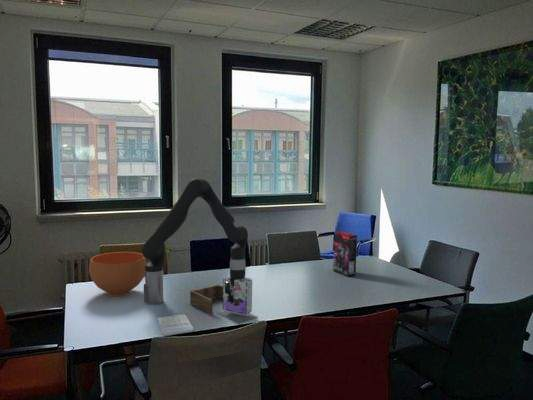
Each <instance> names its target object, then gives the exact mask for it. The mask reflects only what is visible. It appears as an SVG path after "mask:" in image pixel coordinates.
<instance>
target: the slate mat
mask: <svg viewBox="0 0 533 400" xmlns="http://www.w3.org/2000/svg"><path fill="white" fill-rule="evenodd" d="M217 314H218V315H220V316H222V317H224V318H227V319H228V320H230V321H233V322H234V323H236V324H241V323H244V322H249V321H251V320H254V319H258V315H257V316H256V315H254V314H252V313H251V312H250V313H248V314H242V313H237V312H232V311H228V310H222V311H219V312H217Z"/></svg>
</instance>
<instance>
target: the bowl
mask: <svg viewBox="0 0 533 400" xmlns="http://www.w3.org/2000/svg"><path fill="white" fill-rule="evenodd" d="M88 264H89V266H88V271H89V273H88V274H89V276H90V278H91V281H92V282H93V283H94V284H95V286H96V287H97V288H98V289H100V290H102V291H103V292H105V293H107V294H108V296H109V297H115V298H116V297H117V298H118V297H123V296H127V295H129V294H130V292H131V291H132V290H133V289H135V288H136V287H138V286H139V285H140V284H141V282H142V281H143V279H145V265H146V264H147V258H145V257H144V256H143V254H142V253H140V252H139V253H138V252H135V251H115V252H107V253H102V254H97V255H95V256H92V257H91V258H90V259H89V263H88Z"/></svg>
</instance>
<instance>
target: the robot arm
mask: <svg viewBox="0 0 533 400" xmlns="http://www.w3.org/2000/svg"><path fill="white" fill-rule="evenodd" d="M198 198H201V199H203V200H204V202H206V204H207V205H208V206H209V208H210V210H211V213H212V215H213V217H214V218H215V220H216V221H217V222H218V223H219V225H220V226H221V227H222V229H223V231H224V233H225V235H226V237H227V239H228V240H229V241H231V242H232V243H234V245H233V246H231V247H230V261H229V275H230V278H231V279H230V281H229V282H225V293H226V294H228V295H229V302H231V303H232V302H233V293H234V291H235V286H234V280H235V279H241V278H249V279H251V278H250V277H247V276H246V248H247V243H248V238H249V232H248V230H247V228H246V227H245V226H243V225H239V226H236V225H235V218H234V216H233V215H232V214H231V212H229V211H228V209H227V208H226V206H224V205H223V203H222V202H221V200H220V198H219V197H218V196H217V194H216V193H215V191H214V189H213V188H212V186H211V184H210V183H209V182H208V180H205V179H203V178H202V179H201V178H193V179H191V180H190V181H188V183H187V185H186V186H185V188H184V189H183V191H182V193H181V195H180V196H179V198H178V199H177V201H176V202H175V204H174V205H173V206H172V207H171V209H170V210H169V211H168V212H167V214H166V215H165V217H164V218H163V220H162V221H161V223H160V224H159V225H158V226H157V229H156V230H155V232H153V234H152V235H151V236H150V237H149V238H148V239H147V240H146V241H145V243H143V245H142V246H141V247H142V248H141V254H143V256H144V257H145V258H146V260H147V259H148V260H147V261H146V263H147V264H146V265H145V276H144V279H145V281H144V284H143V302H144V303H146V304H148V305H156V304H157V305H158V304H162V303H163V302H164V265H165V261H166V260H165V256H166V254H165V253H166V248H165V242H167V240H168V239H169V238H171V237H172V236H173V235H174V234H175V233H176V232H177V231H179V229H180V228H181V227H182V226H183V224H184V223H185V222H186V220H187V217H188V214H189V210H190V207H191V205H192V204H193V203H194V202H195V201H196V199H198ZM230 284H232V285H233V286H234V288H230ZM231 290H232V291H231Z"/></svg>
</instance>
